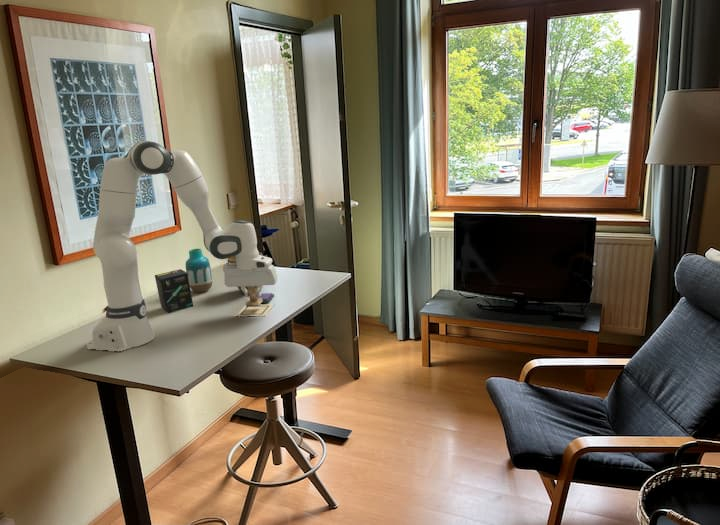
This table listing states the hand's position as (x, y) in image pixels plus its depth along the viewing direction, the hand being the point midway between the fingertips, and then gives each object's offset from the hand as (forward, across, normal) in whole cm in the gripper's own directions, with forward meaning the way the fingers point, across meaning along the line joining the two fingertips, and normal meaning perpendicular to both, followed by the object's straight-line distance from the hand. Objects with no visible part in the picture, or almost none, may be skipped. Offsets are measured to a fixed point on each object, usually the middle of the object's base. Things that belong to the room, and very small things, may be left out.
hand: (253, 296), depth 203 cm
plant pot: (+6, -11, +25) cm, 28 cm away
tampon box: (+6, -36, +7) cm, 37 cm away
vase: (+6, -34, +27) cm, 44 cm away
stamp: (+4, 0, 0) cm, 4 cm away
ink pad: (+6, -1, +12) cm, 13 cm away
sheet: (+6, 0, 0) cm, 6 cm away
